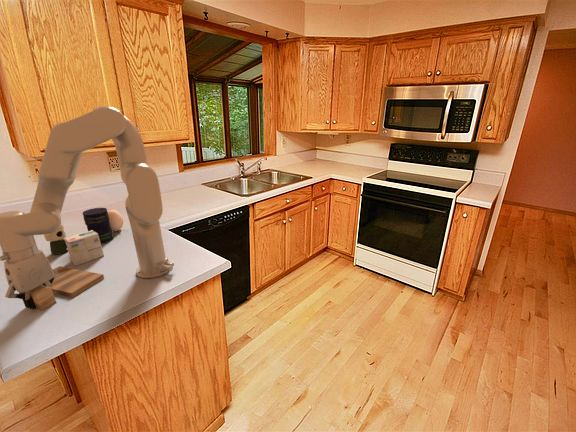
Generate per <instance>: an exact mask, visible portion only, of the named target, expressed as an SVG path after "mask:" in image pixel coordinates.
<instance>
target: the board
mask: <svg viewBox="0 0 576 432" xmlns="http://www.w3.org/2000/svg"><path fill="white" fill-rule="evenodd" d="M52 269H53V270H55V271H57V272H58V274H57V275H56V277H55V278H54V280H53V282H52V287H51V289H52V291H53V294H59V295H62V296H67V297H72V298H75V297H76V296H78V295H79V294H81V293H82V292H84V291H86V290H87V289H89V288H91V287H93V285H96V284H98V283H99V282H101V281H102V280H104V279H105V276H104V274H102V273H98V272H92V271H88V270H87V271H86V270H82V269H77V268H72V267H66V266H62V265H61V266H60V265H59V266H57V267H55V268H52Z"/></svg>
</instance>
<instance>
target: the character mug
mask: <svg viewBox="0 0 576 432" xmlns="http://www.w3.org/2000/svg"><path fill="white" fill-rule="evenodd" d="M66 237H67V233H66V232H65V229H64V224H63V223H62V222H61V225H60V227H59V229H58V230H56V231H55V232H53V233H50V234H44V240H45V242H49V249H50V253H51V254H52V255H59V254H64V253H66V252H68V248H67V245H66V242H65V239H64V238H66Z"/></svg>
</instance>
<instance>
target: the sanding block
mask: <svg viewBox="0 0 576 432" xmlns="http://www.w3.org/2000/svg"><path fill="white" fill-rule="evenodd" d="M30 298H33V301H34V303H35V306H36V309H33V310H35V311H38V312H43V311H45V310H46V309H48V308H50V307H52V306H53V305H56V304H57V301H56V297H55V293H53V291H52V289H51V287H48V286H44V285H40V286H38V287H36V288H34V289H32V290H30Z"/></svg>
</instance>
